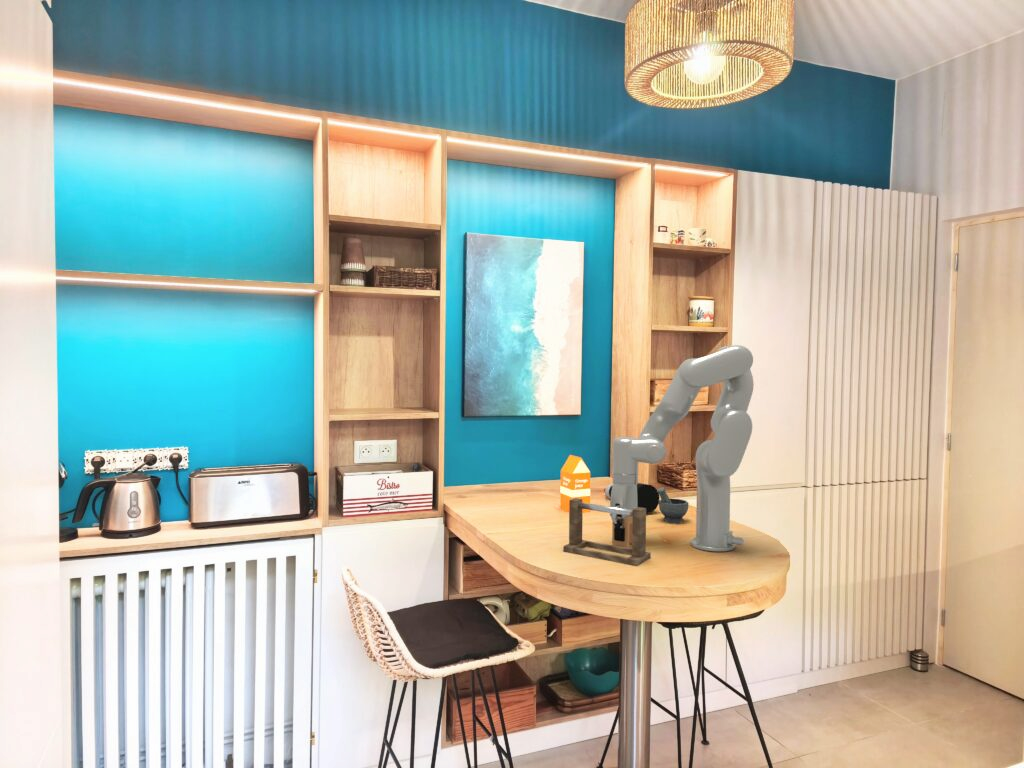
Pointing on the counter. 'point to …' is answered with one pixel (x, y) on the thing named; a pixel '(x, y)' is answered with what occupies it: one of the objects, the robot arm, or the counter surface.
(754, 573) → the counter surface
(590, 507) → the rail
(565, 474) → the orange juice
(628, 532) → the u-slot holder
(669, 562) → the counter surface
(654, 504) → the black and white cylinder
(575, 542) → the stand
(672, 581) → the counter surface
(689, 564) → the counter surface
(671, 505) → the mortar and pestle
